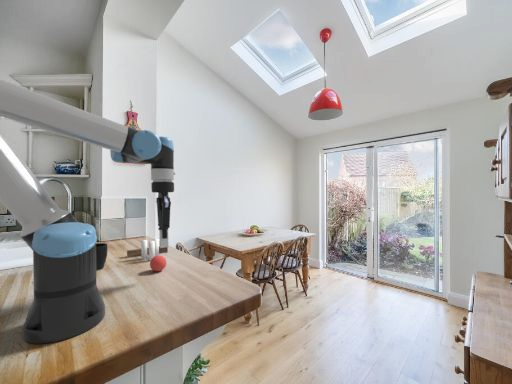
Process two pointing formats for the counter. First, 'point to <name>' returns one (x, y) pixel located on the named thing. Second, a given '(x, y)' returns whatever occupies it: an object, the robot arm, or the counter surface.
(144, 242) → the pin left
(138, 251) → the backstop
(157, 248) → the pin right
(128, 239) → the counter surface
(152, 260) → the ball
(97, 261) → the mug
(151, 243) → the pin front
